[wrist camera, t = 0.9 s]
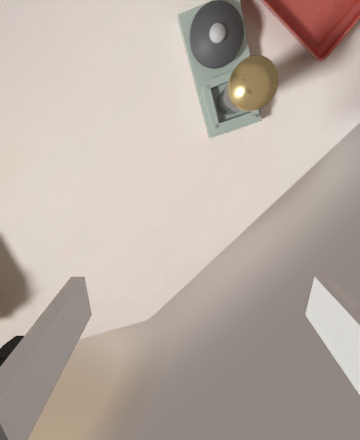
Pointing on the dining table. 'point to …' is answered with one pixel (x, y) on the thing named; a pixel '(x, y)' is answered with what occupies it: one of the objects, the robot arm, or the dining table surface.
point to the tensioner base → (216, 59)
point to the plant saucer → (316, 22)
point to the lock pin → (249, 86)
